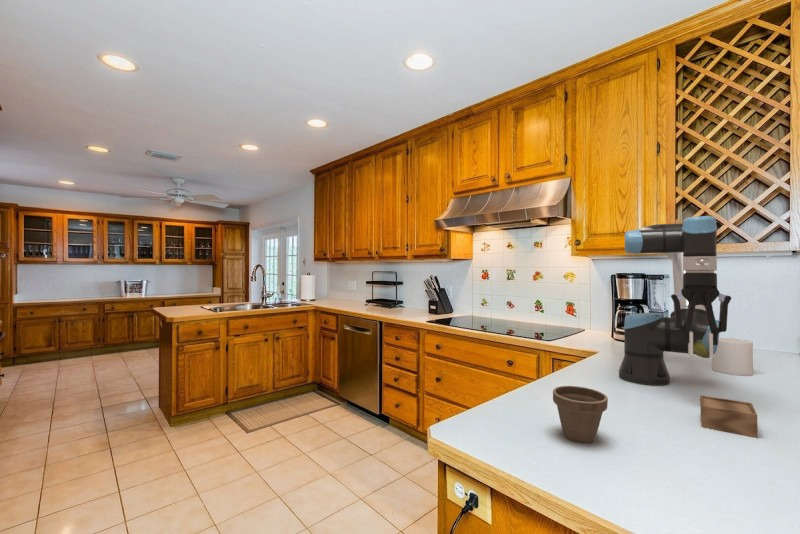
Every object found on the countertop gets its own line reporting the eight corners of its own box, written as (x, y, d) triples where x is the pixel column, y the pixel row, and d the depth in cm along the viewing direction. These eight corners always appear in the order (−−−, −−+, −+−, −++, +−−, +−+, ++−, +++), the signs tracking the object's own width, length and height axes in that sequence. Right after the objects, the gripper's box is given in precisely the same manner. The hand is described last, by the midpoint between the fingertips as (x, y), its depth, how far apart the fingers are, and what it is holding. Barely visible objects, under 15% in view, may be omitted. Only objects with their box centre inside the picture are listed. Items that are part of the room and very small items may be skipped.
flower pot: (616, 451, 80) (616, 402, 81) (559, 446, 82) (559, 399, 82) (598, 428, 92) (597, 386, 92) (548, 425, 94) (548, 384, 94)
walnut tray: (701, 428, 93) (701, 405, 93) (700, 416, 101) (700, 395, 101) (757, 439, 87) (757, 415, 87) (751, 425, 95) (751, 403, 95)
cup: (746, 377, 137) (746, 344, 137) (707, 370, 147) (706, 339, 147) (757, 373, 143) (757, 341, 143) (719, 366, 153) (718, 336, 153)
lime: (702, 355, 109) (702, 338, 109) (717, 359, 104) (717, 340, 104) (687, 355, 109) (687, 338, 109) (701, 359, 104) (701, 340, 104)
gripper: (665, 272, 108) (665, 355, 108) (742, 272, 100) (743, 362, 99) (662, 271, 114) (662, 350, 114) (734, 271, 106) (735, 356, 106)
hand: (700, 355), depth 107 cm, fingers closed on lime, 4 cm apart
